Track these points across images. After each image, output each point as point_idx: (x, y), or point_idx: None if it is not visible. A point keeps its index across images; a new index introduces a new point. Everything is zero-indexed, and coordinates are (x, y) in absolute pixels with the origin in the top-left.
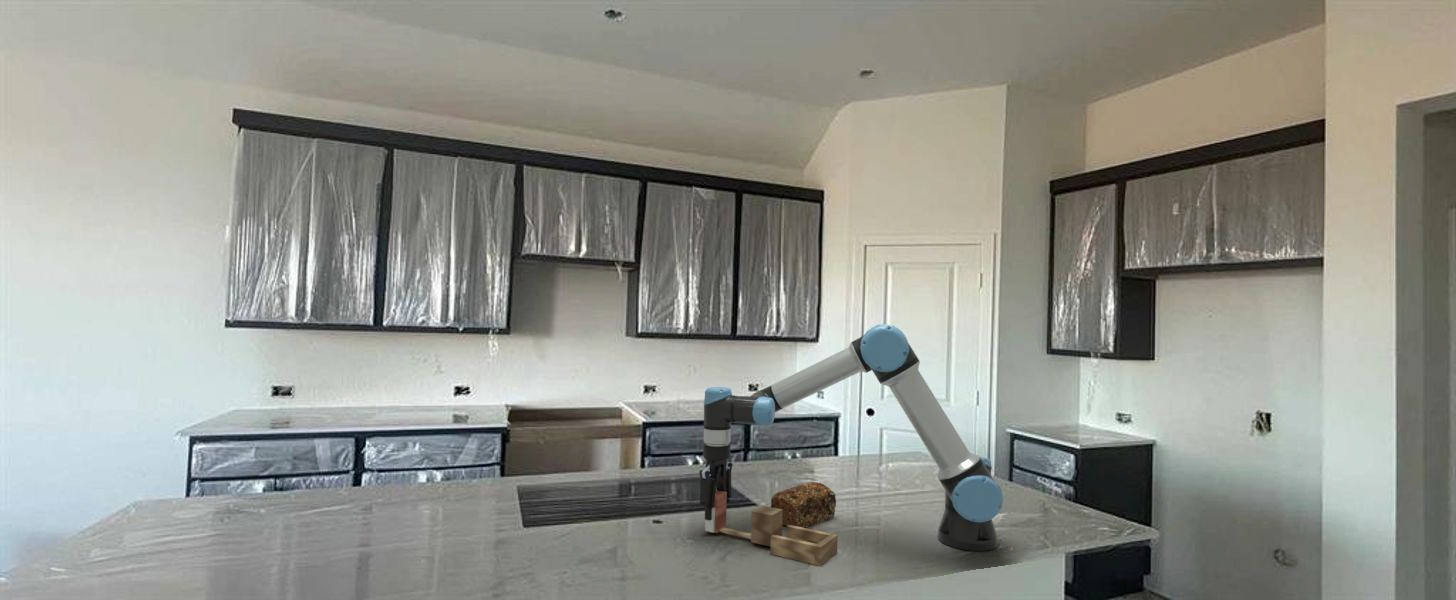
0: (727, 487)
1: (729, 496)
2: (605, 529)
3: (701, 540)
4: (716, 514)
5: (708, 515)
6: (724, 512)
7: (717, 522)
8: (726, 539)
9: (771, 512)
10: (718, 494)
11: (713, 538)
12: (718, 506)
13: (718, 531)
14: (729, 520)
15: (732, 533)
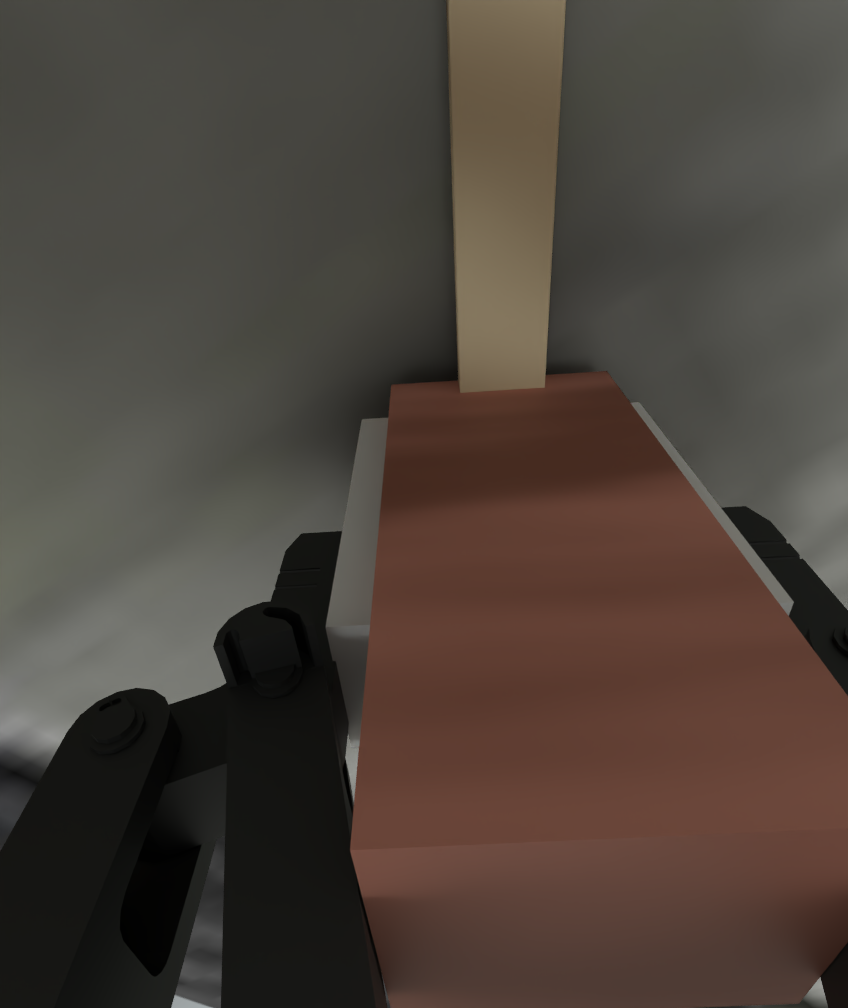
0: (84, 1003)
1: (137, 721)
2: None
3: (782, 413)
4: (696, 503)
5: (794, 564)
6: (441, 495)
7: (633, 429)
8: (629, 198)
9: None
10: (732, 870)
11: (668, 351)
12: (712, 585)
13: (571, 377)
14: (89, 536)
15: (550, 169)
